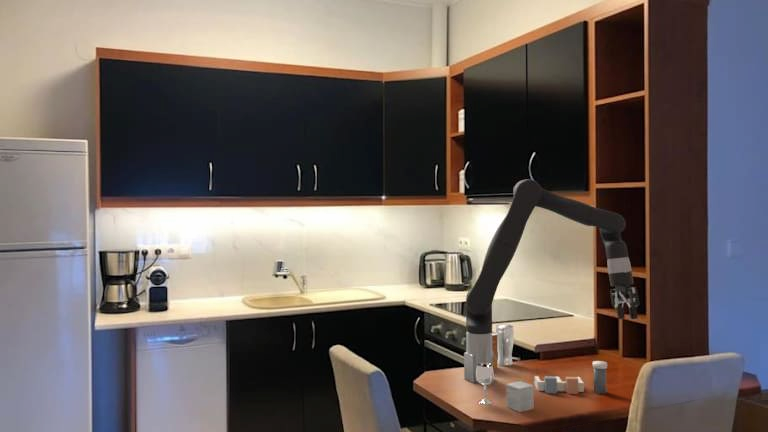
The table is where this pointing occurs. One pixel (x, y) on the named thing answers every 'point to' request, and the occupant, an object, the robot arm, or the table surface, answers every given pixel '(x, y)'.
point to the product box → (520, 396)
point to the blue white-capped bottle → (599, 377)
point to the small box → (494, 350)
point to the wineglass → (484, 378)
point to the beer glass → (505, 344)
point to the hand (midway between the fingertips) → (627, 318)
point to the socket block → (559, 384)
